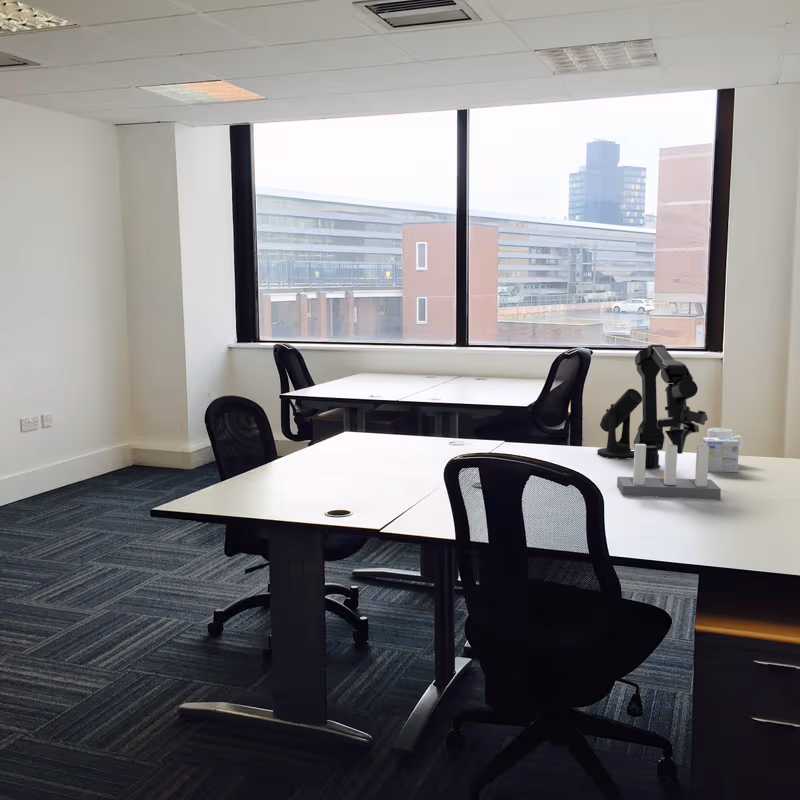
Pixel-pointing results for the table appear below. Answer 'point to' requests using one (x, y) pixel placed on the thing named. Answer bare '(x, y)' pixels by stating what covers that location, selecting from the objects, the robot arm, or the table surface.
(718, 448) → the light bulb box
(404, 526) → the table surface
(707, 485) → the three-peg stand
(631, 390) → the microphone
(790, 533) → the table surface
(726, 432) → the mug
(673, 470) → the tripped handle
